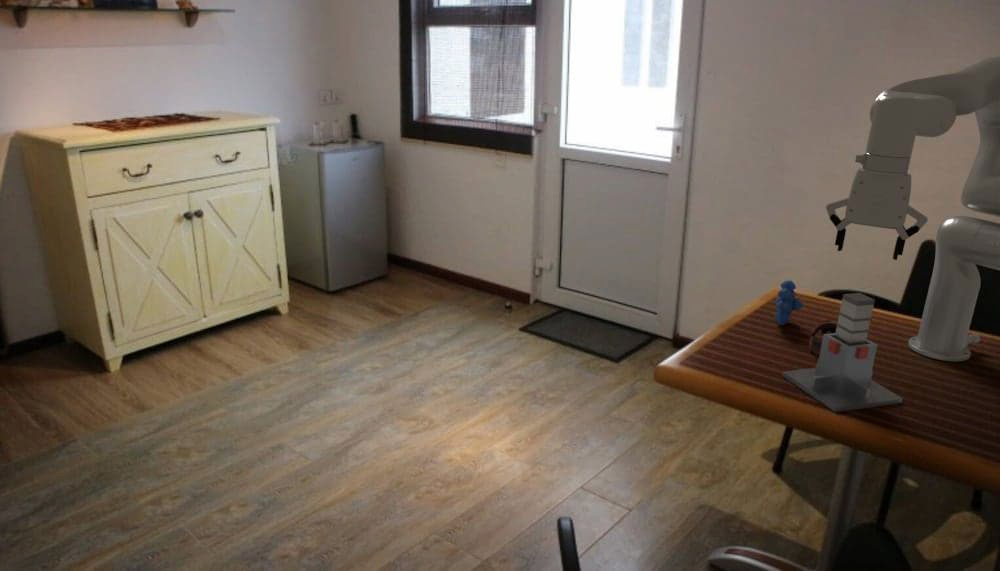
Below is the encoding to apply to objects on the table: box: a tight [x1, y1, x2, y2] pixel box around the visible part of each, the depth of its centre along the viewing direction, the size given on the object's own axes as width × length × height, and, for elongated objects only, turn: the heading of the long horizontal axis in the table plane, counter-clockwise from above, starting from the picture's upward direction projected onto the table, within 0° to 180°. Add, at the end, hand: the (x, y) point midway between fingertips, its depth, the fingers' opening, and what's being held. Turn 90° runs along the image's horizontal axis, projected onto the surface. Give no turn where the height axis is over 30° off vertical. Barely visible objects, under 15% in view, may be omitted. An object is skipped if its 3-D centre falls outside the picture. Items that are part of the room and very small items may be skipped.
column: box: [835, 292, 876, 346], centre depth 149 cm, size 4×4×19 cm
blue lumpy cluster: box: [774, 279, 805, 326], centre depth 183 cm, size 12×7×12 cm, turn 150°
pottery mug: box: [808, 319, 838, 353], centre depth 171 cm, size 12×10×8 cm
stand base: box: [781, 333, 904, 413], centre depth 151 cm, size 16×16×11 cm
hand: (867, 253), depth 143 cm, fingers open, 9 cm apart
